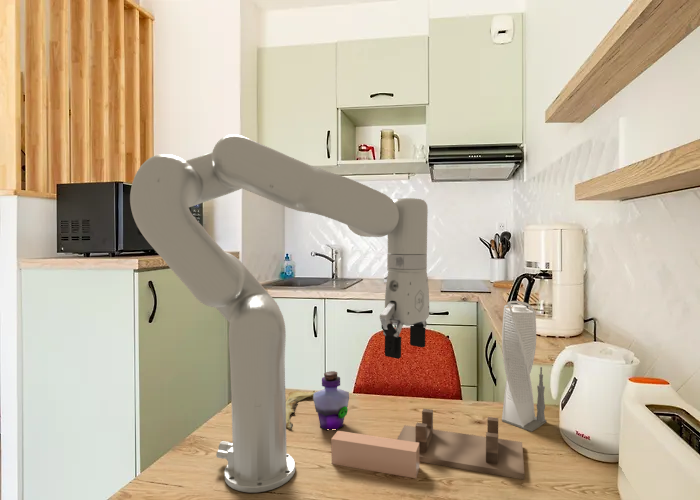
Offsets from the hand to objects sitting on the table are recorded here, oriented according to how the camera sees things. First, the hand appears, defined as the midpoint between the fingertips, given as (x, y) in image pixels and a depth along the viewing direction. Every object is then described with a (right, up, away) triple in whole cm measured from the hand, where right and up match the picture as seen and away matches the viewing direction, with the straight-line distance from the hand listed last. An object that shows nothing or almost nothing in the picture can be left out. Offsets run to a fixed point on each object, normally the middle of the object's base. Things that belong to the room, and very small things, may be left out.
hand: (405, 351), depth 84 cm
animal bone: (-24, -20, +22) cm, 38 cm away
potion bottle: (-15, -20, +14) cm, 28 cm away
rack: (+10, -20, +1) cm, 23 cm away
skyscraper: (+28, -20, +14) cm, 37 cm away
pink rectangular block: (-6, -21, -3) cm, 22 cm away
